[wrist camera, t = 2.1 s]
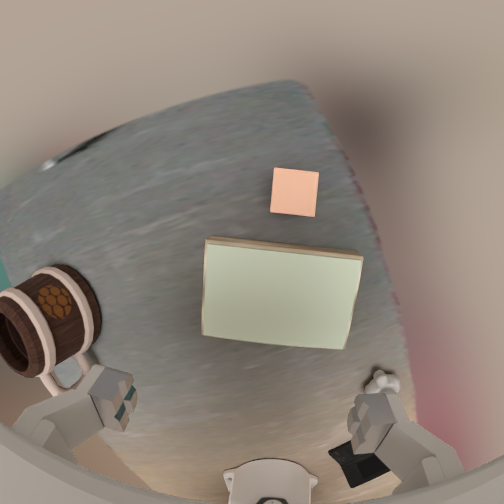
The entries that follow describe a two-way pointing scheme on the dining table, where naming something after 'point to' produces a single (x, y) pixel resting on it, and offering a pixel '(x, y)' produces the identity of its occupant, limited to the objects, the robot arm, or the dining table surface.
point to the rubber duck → (383, 383)
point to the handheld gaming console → (358, 464)
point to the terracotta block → (294, 192)
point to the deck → (279, 292)
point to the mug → (48, 324)
